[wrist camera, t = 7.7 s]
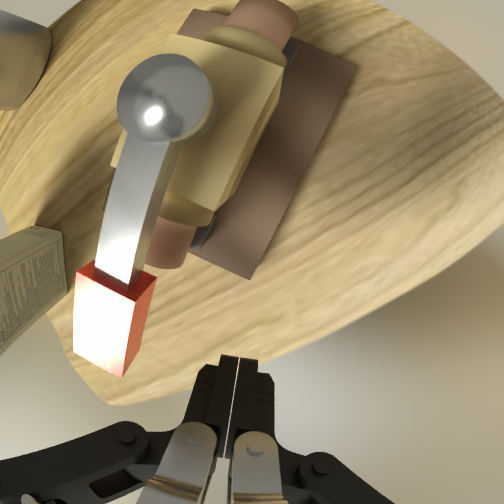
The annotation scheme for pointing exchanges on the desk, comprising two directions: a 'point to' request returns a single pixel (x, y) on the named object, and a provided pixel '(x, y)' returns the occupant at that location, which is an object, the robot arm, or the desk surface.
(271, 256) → the desk surface
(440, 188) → the desk surface
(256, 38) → the valve rig
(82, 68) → the desk surface
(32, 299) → the skincare box
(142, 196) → the valve lever
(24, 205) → the desk surface
